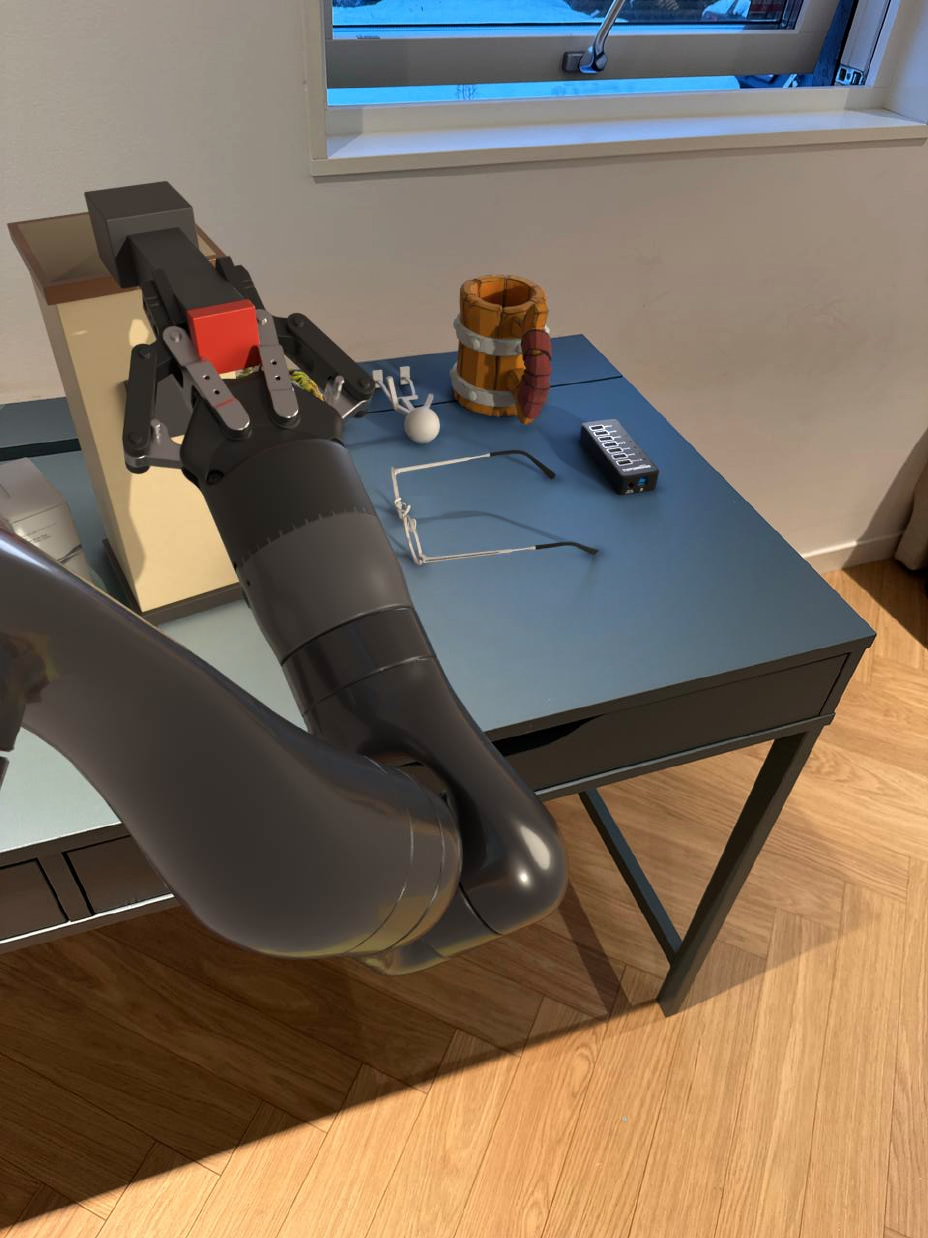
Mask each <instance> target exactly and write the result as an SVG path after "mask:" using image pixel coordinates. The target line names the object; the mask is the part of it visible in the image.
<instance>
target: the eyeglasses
mask: <svg viewBox="0 0 928 1238" xmlns="http://www.w3.org/2000/svg"><path fill="white" fill-rule="evenodd" d="M505 455H506V456H507V455H523V456H525V457H527V459H529V460H530V461H531V462H532V463H533V464H534V465H535V466H536V467H538V469H540V470H541V471H542V472H543V473H544V474H545V475H546V476H547V477H548V478H549V479H551V480H553V479H555V477H556V476H557V475H556V473H555V472H554V471H553V470H552V469H550V468H549V467H548V466H547V465H545V464H544V463H542V462H541V461H540V460H538V459H537V458H535V456H533V455H532V454H530V453H529V452H527V451H525V450H521V449H508V450H498V451H491V452H488V453H486V454H482V455H476V456H472V457H468V456H467V457H461V458H455V459H449V460H448V459H447V460H442V461H436V462H430V463H424V464H419V465H418V464H417V465H413V466H406V467H400V468H395V466H391V467H390V469H391V472H390V476H391V479H392V484H393V491H394V496H395V500H394V501H393V502H394V503H393V504H394V507H395V508H396V512H397V514H398V518H399V519H401V522H402V524H403V528H404V534H405V537H406V541H407V545H408V548H409V550H410V553H411V556H412V560H413V562H414V563H416V565H417V566H421V565H423V564H424V563H433V562H434V563H435V562H440V561H448V560H449V561H450V560H458V559H466V558H474V557H483V556H490V555H491V556H492V555H497V554H498V555H501V554H508V553H512V552H517V551H527V550H531V551H532V550H533V551H536V550H544V549H552V548H558V547H565V546H566V547H569V546H570V547H576V548H578V549H580V550H582V551H584V552H585V553H588V554H589V555H592V556H595V555H597V554H598V553H599V551H600V549H597V548H593V547H589V546H587V545H584V544H581V543H579V542H575V541H559V542H551V543H543V544H542V543H541V544H535V545H531V546H529V547H522V548H515V549H512V548H507V549H498V550H489V551H488V550H487V551H481V552H480V551H478V552H471V553H461V554H453V555H452V554H451V555H443V556H434V557H430V556H426V555H425V554H424V553H423V552H422V547H421V543H420V538H419V535H418V532H417V529H416V526H417V520H416V519H415V518H411V516H410V515H409V514H408V513H409V511H410V509H411V504H408V505H407V504H406V503H405V502H402V501H401V500H402V498H401V497H400V495H399V494H400V493H399V488H398V482H397V475H398V474H400V473H404V472H405V473H406V472H411V471H415V470H422V469H427V468H433V467H438V466H444V465H449V464H455V463H460V462H465V461H469V460H473V459H478V458H479V459H480V458H492V457H500V456H505ZM403 504H404V505H405V506H404V507H403V509H402V506H403ZM409 532H410V533H413V534H414V538H415V542H416V546H417V547H416V548H417V552H418V558H417V555H416V553H415V550H414V547H413V544H412V540H411V536H410V533H409Z"/></svg>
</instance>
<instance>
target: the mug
mask: <svg viewBox="0 0 928 1238" xmlns="http://www.w3.org/2000/svg"><path fill="white" fill-rule="evenodd" d="M547 300H548V296H547V293H546V290H545V289H544V288H543V287H540V285H538V284H537V283H535V282H534V281H531V280H530V279H527V278H525V277H521V276H517V275H512V274H507V275H506V276H505V275H504V274H494V275H492V274H487V275H482V276H479V277H475V278H473V279H468V280H465V281H464V282H463V283H462V284H461V285H460V288H459V313H458V314H457V316H456V318H455V319H454V320H453V323H452V325H453V328H454V329H455V335H456V339H458V345H457V359H456V362H455V363H454V364H453V366H452V368H451V369H450V370H449V373H448V375H449V378H450V379H451V385H452V388H453V390H452V393H453V397H454V398H455V401H456V402H458V403H459V405H460V406H462V407H463V408H465V409H466V410H467V411H470V412H473V413H475V414H479V415H483V416H488V417H491V416H494V417H497V418H501V417H502V416H503V417H512V416H516V417H517V419H518V421H519V422H520V424H522V425H523V426H525V425H530V424H531V425H532V423H533V422H534V420H535V419H537V418H538V417H539V416H540V413H541V411H542V409H543V407H544V405H546V404H547V401H548V395H549V392H550V389H551V383H550V376H551V375H552V374H553V370H552V366H551V361H552V359H553V357H552V355H553V353H552V342H551V341H552V340H551V336H550V332H551V331H550V327H548V326H547V325H548V324H547V320H548V316H549V312H550V310H549V307H548V304H547Z"/></svg>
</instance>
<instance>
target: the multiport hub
mask: <svg viewBox="0 0 928 1238" xmlns="http://www.w3.org/2000/svg"><path fill="white" fill-rule="evenodd" d="M580 426H581V427H580V432H579V440H578V443H579V445H580V446H581V447H582V449H583V450H584V451H585V452H586V454H587V455H588V456H589V458H590V459H591V460H592V462H593V463H594V465H595V466H596V467H597V468H598V470H599V472H601V474H602V475H603V477H604V478H605V480H607V482H608V483H609V485H610V486H611V487H612V489H613V490H614V491H615V493H616V494H617V495H619V496H628V495H632V494H639V493H644V492H651V491H655V490H656V488H657V484H658V479H659V475H660V469H659V468H658V467H657V465H656V464H655V463H654V462H653V460H652V459H651V458H650V457H649V456H648V454H647V453H646V452H645V451H644V450H643V449H642V448H641V446H640V445H639V444H638V443H637V441H636V440H635V439H634V438H633V437H632V435H631V434H630V433H629V432H628V431H627V429H626V428H625V427H624V426H623V425H622V423H621V422H620V421H619V420H618V419H617V418H608V419H602V420H595V421H587V422H586V421H585V422H582V423H581V425H580Z"/></svg>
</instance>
